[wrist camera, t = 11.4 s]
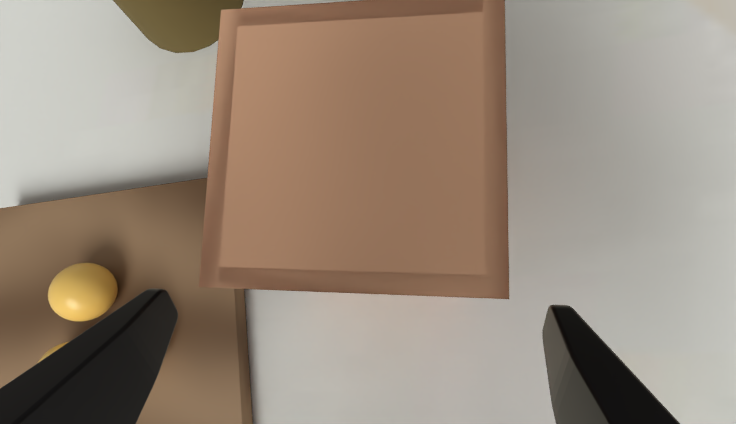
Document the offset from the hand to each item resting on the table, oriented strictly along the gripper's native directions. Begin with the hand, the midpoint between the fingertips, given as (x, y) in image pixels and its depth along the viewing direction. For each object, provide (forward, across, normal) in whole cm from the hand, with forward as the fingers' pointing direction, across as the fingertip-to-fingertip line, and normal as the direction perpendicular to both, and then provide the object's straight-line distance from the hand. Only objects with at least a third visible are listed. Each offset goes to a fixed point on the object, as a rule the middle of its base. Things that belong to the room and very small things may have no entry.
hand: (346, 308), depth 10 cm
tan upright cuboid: (+9, 0, +3) cm, 10 cm away
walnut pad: (+5, +12, +7) cm, 15 cm away
